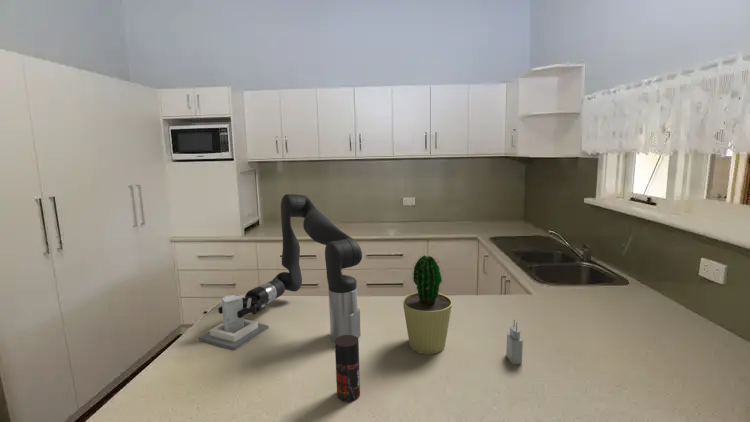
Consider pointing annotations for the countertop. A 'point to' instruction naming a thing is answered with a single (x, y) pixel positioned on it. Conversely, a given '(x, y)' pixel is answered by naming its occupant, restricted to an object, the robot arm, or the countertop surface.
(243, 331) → the socket plate
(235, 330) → the skincare box
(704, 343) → the countertop surface
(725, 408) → the countertop surface
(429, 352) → the potted cactus
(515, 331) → the power adapter
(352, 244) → the robot arm
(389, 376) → the countertop surface
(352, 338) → the deodorant
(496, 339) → the countertop surface
